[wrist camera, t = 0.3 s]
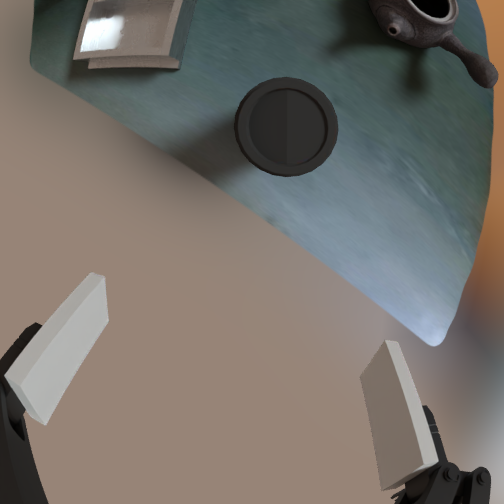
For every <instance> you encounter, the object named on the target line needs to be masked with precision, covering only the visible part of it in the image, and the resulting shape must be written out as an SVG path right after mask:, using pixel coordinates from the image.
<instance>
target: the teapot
mask: <svg viewBox="0 0 504 504" xmlns="http://www.w3.org/2000/svg"><path fill="white" fill-rule="evenodd" d="M368 2H369V6H370V8H371V11H372V12H373V14H374V16H375V17H376V19H377V20H378V24H379V26H380V28H381V30H382V31H383V32H384V33H385V34H386V35H388V36H389V37H391V38H394V39H397V40H400V41H403V42H405V43H407V44H409V45H412V46H415V47H420V48H431V47H438V46H440V47H442V48H443V49H445V50H446V51H449V52H451V53H453V54H455V55H456V56H458V57H459V58H460V59H461V61H462V62H463V63H464V65H465V66H466V68H467V71H468V73H469V75H470V76H471V77H472V79H473V80H474V81H475V82H476V83H477V84H479V85H480V86H482V87H484V88H492V87H493V86H494V85H495V84H496V82H497V80H498V72H497V70H496V68H495V67H494V65H493V64H492V63H491V62H490V61H489V60H487V59H486V58H484V57H483V56H480V55H478V54H476V53H473V52H471V51H469V50H468V49H466V48H465V47H464V46H463V45H462V43H461V42H460V41H459V39H458V38H457V37H456V36H455V35H454V34H453V28H454V24H455V21H456V19H457V17H458V14H459V9H458V4H457V1H456V0H368Z"/></svg>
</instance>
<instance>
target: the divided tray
mask: <svg viewBox="0 0 504 504" xmlns="http://www.w3.org/2000/svg"><path fill="white" fill-rule="evenodd" d="M196 4H197V0H88V3H87V6H86V10H85V13H84V16H83V20H82V23H81V27H80V31H79V35H78V39H77V43H76V48H75V52H74V57H73V60H78V61H84V62H89V66H88V69H104V68H167V69H180V68H181V63H182V59H183V54H184V50H185V46H186V41H187V37H188V33H189V29H190V26H191V22H192V18H193V14H194V11H195V7H196Z"/></svg>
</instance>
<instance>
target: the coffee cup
mask: <svg viewBox="0 0 504 504" xmlns="http://www.w3.org/2000/svg"><path fill="white" fill-rule="evenodd" d="M234 129H235V136H236V140H237V143H238V145H239V147H240V149H241V152H242V153H243V154H244V155H245V157H246V158H247V159H248V160H249V162H251V163H252V164H253V165H255V166H256V167H257V168H259V169H260V170H262V171H264V172H267V173H269V174H272V175H276V176H283V177H291V176H300V175H303V174H305V173H308V172H311V171H313V170H314V169H316V168H317V167H319V166H320V165H322V164H323V163H324V161H325V160H326V159H327V158H328V157H329V156H330V154H331V152H332V150H333V148H334V146H335V144H336V141H337V135H338V121H337V115H336V113H335V110H334V108H333V105H332V103H331V102H330V101H329V99H328V98H327V97H326V95H325V94H324V93H323V92H322V91H320V90H319V89H318V88H317V87H315V86H314V85H312V84H310V83H308V82H306V81H303V80H301V79H296V78H290V77H282V78H273V79H270V80H267V81H265V82H262V83H260V84H258V85H257V86H255V87H254V88H253V89H251V90H250V91H249V92H248V93H247V94H246V96H245V97H244V98H243V99H242V101H241V102H240V104H239V107H238V109H237V112H236V115H235V123H234Z"/></svg>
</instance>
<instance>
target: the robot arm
mask: <svg viewBox="0 0 504 504" xmlns="http://www.w3.org/2000/svg"><path fill="white" fill-rule="evenodd" d="M108 322H109V319H108V310H107V298H106V285H105V277H104V276H102V275H99V274H96V273H93V272H91V273H90V274H89V275H88V276H87V277H86V278H85V279H84V280H83V281H82V282H81V283H80V284H79V285H78V286H77V288H76V289H75V290H74V291H73V292H72V293H71V294H70V295H69V296H68V297H67V298H66V300H65V301H64V302H63V303H62V304H61V305H60V306H59V307H58V309H57V310H56V311H55V312H54V313H53V314H52V316H51V317H50V318H49V319H48V320H47V321H46V323H45V324H44V325H43V326H42V325H40V324H38V323H34V324H32V325H31V326H29V327H27V328H26V329H25V330H24V331H23V333H22V334H21V335H20V336H19V338H18V339H17V340H16V341H15V342H14V344H13V345H12V346H11V347H10V348H9V350H8V351H7V352H6V353H5V354H4V356H3V357H2V358H1V360H0V504H48V501H47V498H46V495H45V493H44V490H43V487H42V484H41V481H40V478H39V475H38V472H37V469H36V465H35V462H34V458H33V454H32V451H31V447H30V442H29V439H28V434H27V429H26V424H25V419H24V416H23V414H24V412H25V410H26V411H27V412H28V414H29V415H30V417H32V418H33V419H35V420H36V421H38V422H40V423H42V424H43V425H45V426H46V424H47V422H48V420H49V419H50V417H51V415H52V413H53V411H54V410H55V408H56V406H57V404H58V402H59V401H60V399H61V397H62V395H63V394H64V392H65V390H66V389H67V387H68V385H69V383H70V382H71V380H72V378H73V377H74V375H75V373H76V372H77V370H78V368H79V367H80V365H81V364H82V362H83V360H84V359H85V357H86V356H87V354H88V352H89V351H90V349H91V348H92V346H93V345H94V343H95V342H96V340H97V338H98V337H99V335H100V334H101V332H102V331H103V329H104V328H105V326H106V324H107V323H108ZM360 379H361V384H362V388H363V393H364V397H365V402H366V407H367V411H368V416H369V421H370V426H371V432H372V437H373V442H374V448H375V454H376V460H377V465H378V472H379V479H380V486H381V491H382V490H390V489H396V488H397V487H399V486H401V485H403V484H405V489H403V490H401V491H399V492H398V493H396V494H394V495H393V496H392V497H391V499H393V498H395V497H397V496H399V497H398V498H397V499H396V500H395V501H396V502H395V504H489V499H490V488H491V476H490V473H489V471H488V470H487V469H486V468H484V467H479V468H477V469H475V470H474V471H472V472H464V471H460V470H459V468H458V467H457V466H456V465H455V464H453V463H451V462H448V460H447V458H446V455H445V451H444V448H443V444H442V441H441V438H440V434H439V433H438V428H437V426H436V422H435V419H434V416H433V414H432V412H431V411H430V410H429V408H428V407H427V406H422V405H421V402H420V399H419V396H418V393H417V390H416V388H415V385H414V382H413V380H412V377H411V374H410V372H409V369H408V366H407V364H406V361H405V359H404V357H403V354H402V351H401V349H400V346H399V344H398V342H396V341H389V340H385V341H384V342H383V344H382V345H381V347H380V348H379V350H378V351H377V353H376V354H375V356H374V357H373V359H372V360H371V362H370V363H369V364H368V366H367V367H366V369H365V370H364V372H363V373H362V374H361V376H360Z"/></svg>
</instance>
